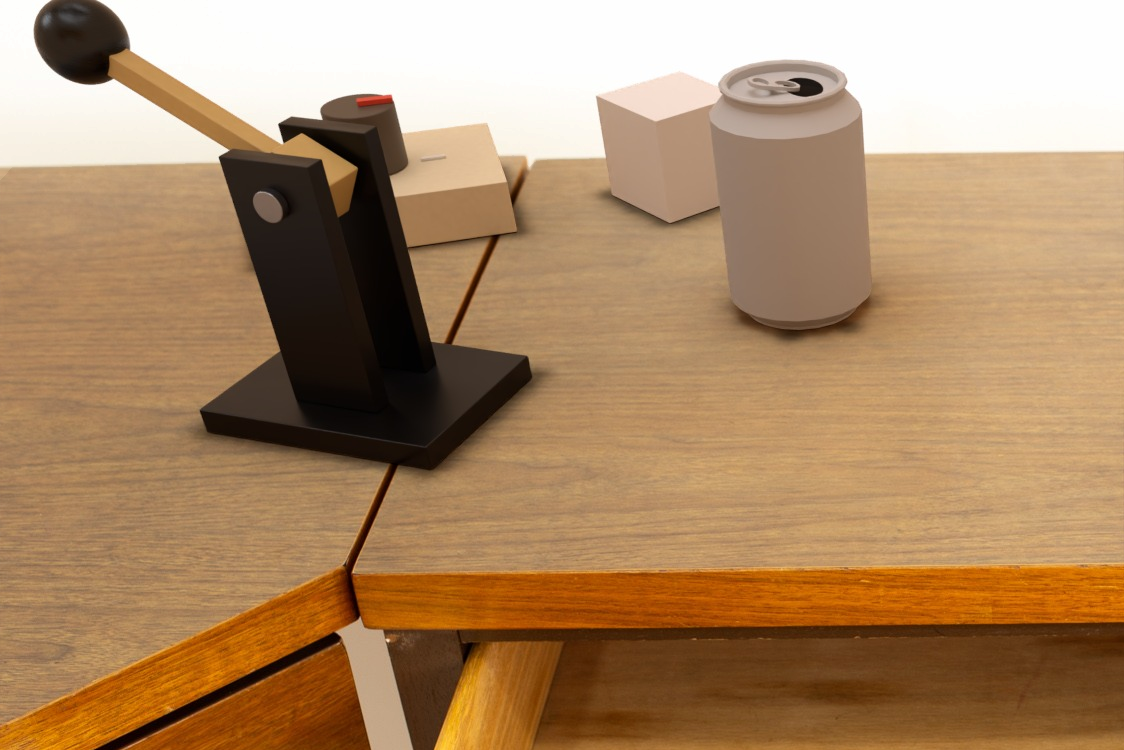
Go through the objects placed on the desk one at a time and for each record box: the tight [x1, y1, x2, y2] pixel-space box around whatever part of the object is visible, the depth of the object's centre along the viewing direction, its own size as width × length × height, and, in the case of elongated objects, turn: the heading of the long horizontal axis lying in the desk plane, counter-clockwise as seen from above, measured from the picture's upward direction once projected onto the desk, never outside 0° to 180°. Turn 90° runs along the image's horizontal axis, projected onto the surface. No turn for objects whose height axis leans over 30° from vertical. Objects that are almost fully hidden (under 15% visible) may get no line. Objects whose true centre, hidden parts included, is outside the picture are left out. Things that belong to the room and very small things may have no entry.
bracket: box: [198, 115, 533, 470], centre depth 72 cm, size 12×9×13 cm
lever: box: [33, 0, 358, 217], centre depth 68 cm, size 14×4×4 cm, turn 73°
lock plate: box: [389, 122, 518, 248], centre depth 92 cm, size 14×10×3 cm
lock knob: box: [319, 93, 408, 175], centre depth 90 cm, size 4×4×4 cm
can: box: [709, 59, 873, 331], centre depth 80 cm, size 8×8×12 cm
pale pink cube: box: [595, 70, 722, 224], centre depth 94 cm, size 6×6×6 cm
